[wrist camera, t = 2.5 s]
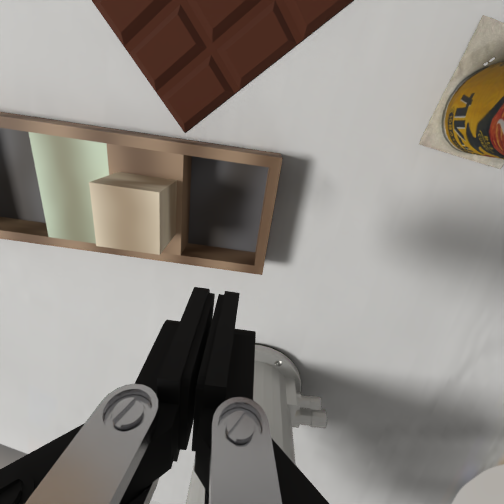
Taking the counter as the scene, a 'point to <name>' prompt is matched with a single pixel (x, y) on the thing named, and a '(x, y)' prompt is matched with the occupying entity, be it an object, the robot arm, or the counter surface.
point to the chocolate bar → (210, 44)
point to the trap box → (141, 163)
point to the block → (134, 212)
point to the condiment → (473, 102)
